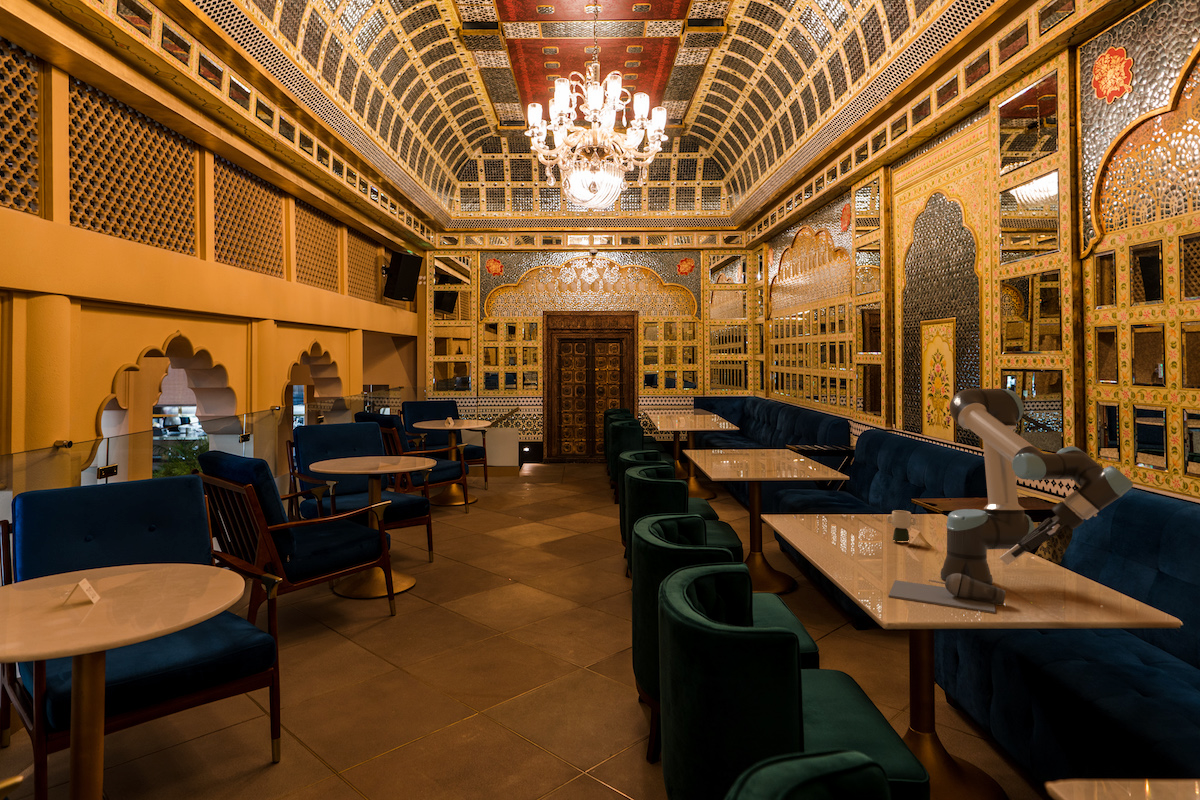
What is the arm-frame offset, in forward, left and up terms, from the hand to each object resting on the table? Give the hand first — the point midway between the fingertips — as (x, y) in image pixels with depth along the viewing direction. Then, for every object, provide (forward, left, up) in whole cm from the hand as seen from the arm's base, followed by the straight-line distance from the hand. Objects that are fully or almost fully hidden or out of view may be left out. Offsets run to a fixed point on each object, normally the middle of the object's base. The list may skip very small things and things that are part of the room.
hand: (1003, 561), depth 190 cm
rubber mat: (-11, -11, -13) cm, 21 cm away
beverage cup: (0, +1, -11) cm, 11 cm away
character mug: (-73, +25, -14) cm, 78 cm away
